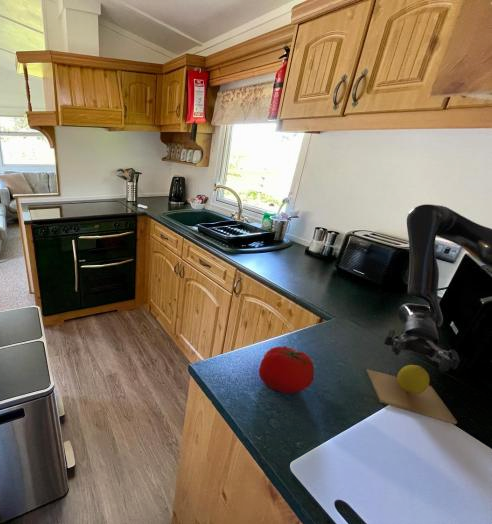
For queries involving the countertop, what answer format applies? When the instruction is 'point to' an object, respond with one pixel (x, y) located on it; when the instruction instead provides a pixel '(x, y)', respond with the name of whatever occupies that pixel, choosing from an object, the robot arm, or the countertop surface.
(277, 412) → the countertop surface
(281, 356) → the tomato
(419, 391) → the lemon
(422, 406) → the board
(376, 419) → the countertop surface
